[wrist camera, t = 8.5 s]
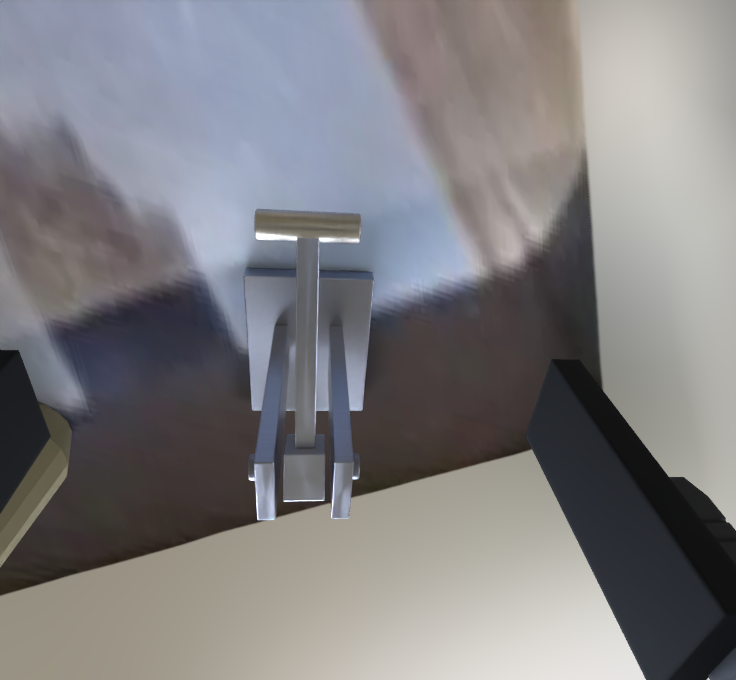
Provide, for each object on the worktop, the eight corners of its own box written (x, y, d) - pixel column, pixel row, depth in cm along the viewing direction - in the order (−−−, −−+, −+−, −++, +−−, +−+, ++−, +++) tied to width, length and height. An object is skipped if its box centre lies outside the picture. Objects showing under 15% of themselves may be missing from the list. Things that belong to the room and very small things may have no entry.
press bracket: (245, 267, 34) (203, 403, 22) (372, 272, 35) (401, 404, 23) (253, 400, 41) (224, 564, 28) (361, 401, 42) (379, 559, 29)
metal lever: (258, 208, 24) (252, 209, 22) (358, 213, 25) (362, 214, 23) (261, 478, 28) (256, 502, 26) (347, 477, 29) (350, 500, 27)
